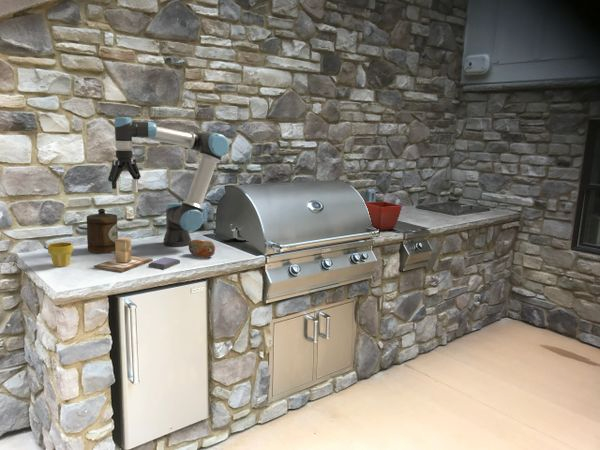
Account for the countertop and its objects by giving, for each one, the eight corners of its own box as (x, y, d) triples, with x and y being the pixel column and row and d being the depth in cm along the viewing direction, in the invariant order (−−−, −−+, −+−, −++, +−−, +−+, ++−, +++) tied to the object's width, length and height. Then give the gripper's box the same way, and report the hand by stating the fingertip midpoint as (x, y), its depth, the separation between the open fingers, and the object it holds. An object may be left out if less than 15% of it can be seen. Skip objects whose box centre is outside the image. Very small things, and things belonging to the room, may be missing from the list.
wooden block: (121, 259, 235) (121, 237, 233) (131, 260, 234) (130, 238, 232) (116, 262, 230) (115, 239, 228) (125, 263, 229) (124, 240, 227)
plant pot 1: (50, 262, 230) (49, 242, 229) (74, 261, 234) (73, 241, 232) (47, 268, 221) (46, 247, 219) (73, 267, 225) (71, 246, 223)
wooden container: (119, 252, 252) (117, 210, 248) (87, 254, 247) (85, 211, 242) (117, 245, 266) (116, 205, 261) (88, 247, 260) (85, 206, 256)
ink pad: (164, 260, 241) (164, 256, 240) (179, 262, 238) (179, 258, 237) (148, 266, 230) (148, 262, 229) (164, 269, 227) (164, 265, 226)
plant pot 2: (400, 229, 334) (402, 205, 331) (378, 232, 324) (380, 207, 321) (382, 224, 350) (384, 201, 347) (361, 226, 341) (362, 202, 337)
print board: (126, 256, 245) (126, 254, 245) (152, 260, 239) (152, 258, 239) (93, 267, 225) (93, 265, 225) (121, 272, 219) (121, 269, 219)
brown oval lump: (188, 254, 253) (188, 238, 252) (192, 253, 256) (192, 237, 254) (212, 258, 247) (212, 242, 245) (216, 257, 250) (216, 241, 248)
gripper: (134, 148, 247) (136, 190, 251) (98, 150, 224) (100, 196, 228) (147, 149, 244) (148, 191, 248) (111, 151, 221) (113, 197, 226)
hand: (125, 194), depth 238 cm, fingers open, 13 cm apart
